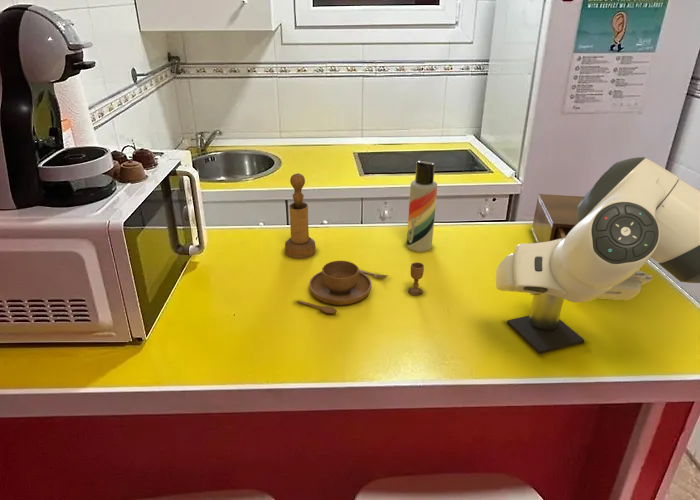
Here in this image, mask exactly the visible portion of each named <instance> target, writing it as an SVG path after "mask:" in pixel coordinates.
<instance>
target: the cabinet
mask: <svg viewBox="0 0 700 500" xmlns="http://www.w3.org/2000/svg"><path fill="white" fill-rule="evenodd" d="M584 197H585V196H581V195H580V196H579V195H563V194H546V193H545V194H544V193H538V194H537V199H536V206H535V210H534V216H533V219H532V220H533V222H532V225H531V234H532V236H533V238H534V241H535V243H539V242H548V241H553V240H554V235H555V230H556V227H564V228H574V227H575V226H576V225H577V224H578V223H577V210H578V206H579V204H580V202H581V201H582V199H583V198H584Z"/></svg>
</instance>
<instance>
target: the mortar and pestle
mask: <svg viewBox="0 0 700 500" xmlns="http://www.w3.org/2000/svg"><path fill="white" fill-rule="evenodd" d="M289 183H290V184H291V187H292V188H293V191H294V193H293V194H292V199H293V202H292V203H290V204H289V206H288V208H289V227H290V237H289V238H288V239H287V240H286V241H285V243H284V253H285V255H286V256H287V257H288V258H291V259H296V260H303V259H309V258H311V257H313V256H314V255H315V254H316V251H317V249H316V240H314V239H313V238H312V237H310V232H309V231H310V230H309V205H308V203H306V202H304V196H305V194H304V193H302V190H303V188H304V186H305V184H306V178H305V176H304V175H303V174H302V173H299V172H298V173H297V172H296V173H294V174H292V175H291V177H290V179H289Z"/></svg>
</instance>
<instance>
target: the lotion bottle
mask: <svg viewBox="0 0 700 500" xmlns="http://www.w3.org/2000/svg"><path fill="white" fill-rule="evenodd" d="M415 165H416V166H415V177H414V180H412V181H411V182H410V186H409V200H408V201H409V203H408V215H407V231H406V247H407V249H408V250H410V251H413V252H417V253H424V252H425V253H426V252H428V251H430V250H431V249H432V246H433V240H434V239H433V238H434V228H435V215H436V207H437V206H436V205H437V195H438V183H437V182H436V181H435V180H434V179H435V169H436V168H435V166H436V163H435V162H432V161H428V160H423V159H419V160H417V161H416V164H415Z"/></svg>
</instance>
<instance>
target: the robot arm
mask: <svg viewBox="0 0 700 500" xmlns="http://www.w3.org/2000/svg"><path fill="white" fill-rule="evenodd" d="M583 197H584V198H583V199H582V201H581V202H580V204H579V206H578V210H577V223H578V224H577V225H576V226H575V227H574V228H573V229H572V230H571V231H570V232H569V233H568V235H567V236H566V238H562V239H557V240H553V241H548V242H539V243H536V242H526V243H520V244H517V245H515V249H514V253H510V254H508V255H507V256H505V257H504V258H503V259H502V260H501V261H500V262H499V264H498V265H497V266H496V268H495V269H496V270H495V289H496V290H498V291H501V292H515V293H524V294H526V293H527V294H529V295H530V296H533V295H540V294H549V295H553V296H556V297H561V298H563V299H564V300H566V301H568V302H571V303H585V302H586V303H587V302H591V301H593V300H595V299H601V300H611V301H612V300H613V301H629V300H632V299H634V298H635V297H636V296H637V295H639V294H640V292H641V291H642V285H647V284H649V283H651V282H652V280H653V276H652V274H651V273H650V274H648V273H646V271H643V270H640V269H641V268H642V267H643V266H644V265H645V264H646V263H647V262H648V261H649V259H650V258H651V259H653V260H654V261H656V262H657V263H658V265H659V266H660V267H662V268H663V269H664V270H665V271H667V272H668V273H669V274H670V275H671V276H673V277H674V278H675V279H677V281H679V282H680V283H688V284H700V190H698V189H697V188H694V187H693V186H692V185H690V184H688V183H686V182H685V181H684V180H682V179H680V178H679V176H677V175H676V174H674V173H672V172H670V171H669V170H667V169H666V168H664V167H662V166H661V165H659V164H658V163H656V162H654V161H652V160H650V159H649V158H647V157H644V156H638V157H637V156H636V157H630V158H627V159H623V160H620V161H617V162H615V163H613V164H612V165H611V166H610V167H609V168H608V169H607V170H605V172H604V173H603V174H602V175H601V176H600V177H599V178H598V180H596V182H595V184H594V185H593V186H592V188H591V189H589V191H587V193H586V194H585V195H584V196H583Z"/></svg>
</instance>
